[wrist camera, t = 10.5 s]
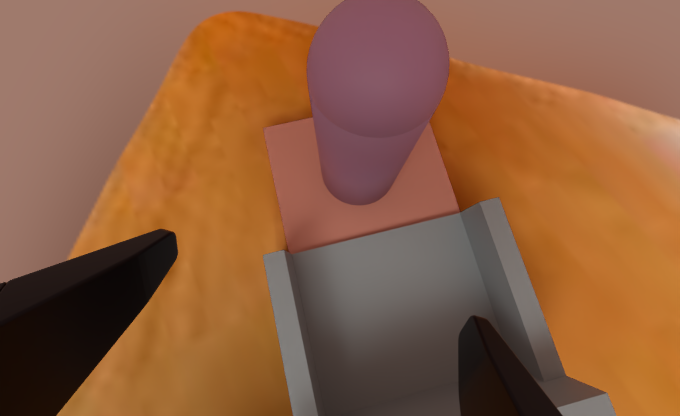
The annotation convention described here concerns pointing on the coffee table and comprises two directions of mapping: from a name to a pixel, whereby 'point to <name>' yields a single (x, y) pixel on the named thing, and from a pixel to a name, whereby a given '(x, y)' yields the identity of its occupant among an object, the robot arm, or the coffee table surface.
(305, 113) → the coffee table surface
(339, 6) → the yam
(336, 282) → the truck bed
